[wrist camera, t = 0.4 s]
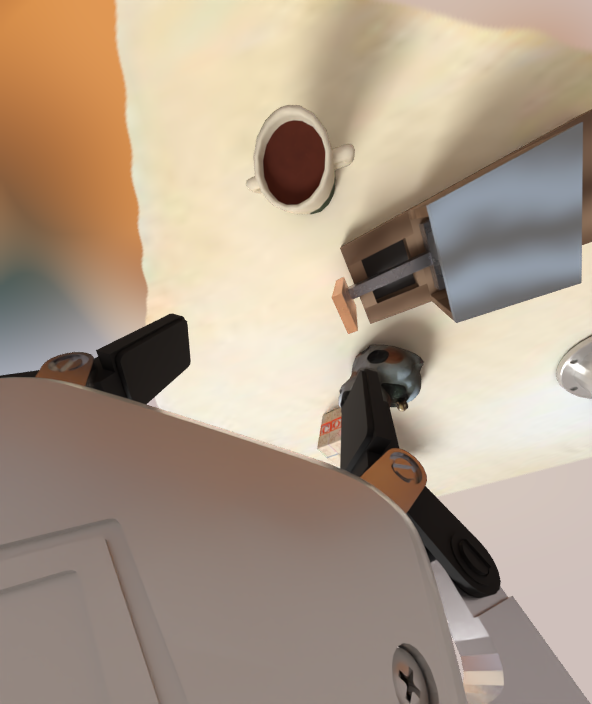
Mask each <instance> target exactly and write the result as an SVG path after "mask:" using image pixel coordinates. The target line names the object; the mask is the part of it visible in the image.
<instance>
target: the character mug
mask: <svg viewBox="0 0 592 704" xmlns="http://www.w3.org/2000/svg"><path fill="white" fill-rule="evenodd" d="M354 153H355V149H354V147H353V145H352V144H346V145H342V146H340V147H337V148H334V149H331V146H330V142H329V138H328V135H327V131H326V129H325V128H324V127H323V125H322V124H321V122H320V121H319V120H318V118H317V117H316V116H315V114H314V113H312V112H310V111H309V110H307V109H305V108H303V107H302V106H300V105H287V106H283V107H280V108H279V109H277V110H276V111H274V112H273V113H272V114H271V115H270V116H269V117H268V118H267V119H266V120H265V122H264V124H263V126H262V128H261V130H260V132H259V134H258V136H257V141H256V146H255V151H254V170H255V176H254V177H252V178H250V179H248V180H247V182H246V186H247V188H248V189H249V190H250V191H252V192H255V193H259V194H261V193H262V194H263V195H264V196H265V197H266V198H267V199H268V200H269V202H270V203H271V204H272V205H274V206H276V207H278V208H280V209H282V210H284V211H286V212H290V213H294V214H314V213H317V212H321V211H322V210H323V209H324V208H325V207H326V206H327V205H328V204H329V203H330V201H331V199H332V196H333V194H334V190H335V170H336V169H339V168H342V167H345V166H348V165H350V164H351V163H352V162H353V160H354Z"/></svg>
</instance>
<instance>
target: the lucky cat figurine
mask: <svg viewBox="0 0 592 704" xmlns="http://www.w3.org/2000/svg"><path fill="white" fill-rule="evenodd" d="M423 363H424V362H423V360H422V359H421V358H420V357H419V356H418V355H416V354H415V353H412V352H409V351H407V350H404V349H401V348H397V347H393V346H387V345H370V346H369V347H368V348H367V349H366V350H365V351H363V352H361V353H360V354H359V355H358V356H356V358H355V361H354V363H353V368H352V375H351V377H350V379H349V380H348V381H347V382H346V383H344V384H343V385H342V387H341V389H340V396H339V406H340V407H341V413H342V408H343V406H344V404H345V401H346V399H347V397H348V395H349V393H350V391H351V388H352V386H353V384H354V382H355V380H356V378H357V376H358V373H359V371H360V370H362V371H364V369H369V370H373V371H376V372H377V373H378V377H379V382H380V387H381V391H382V396H383V401H386V402H388V404H389V408H390V407H397V408H398V409H399V410H400V411H405V410H406V409H407V408H408V404H407V402H409V401H412V400H413V399H414V398H415V397H416V396H417V395H418V394H419V392H420V389H421V375H420V370H421V367H422V366H423Z"/></svg>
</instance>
